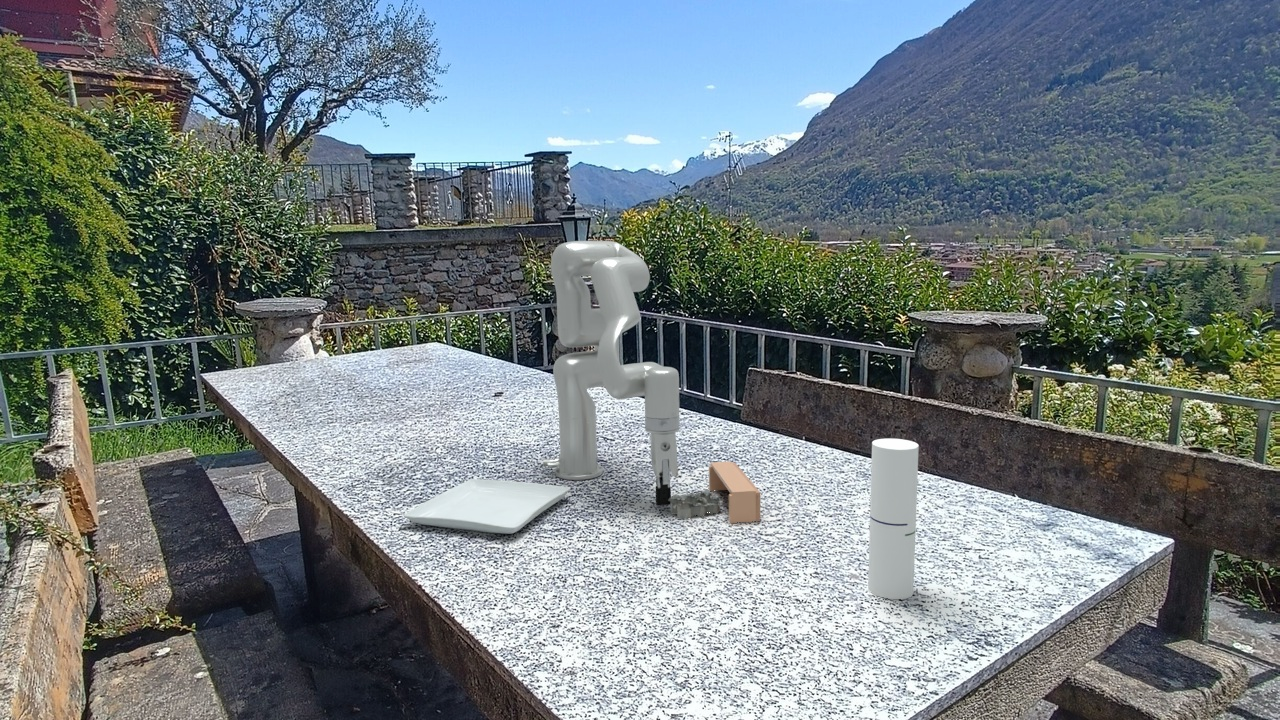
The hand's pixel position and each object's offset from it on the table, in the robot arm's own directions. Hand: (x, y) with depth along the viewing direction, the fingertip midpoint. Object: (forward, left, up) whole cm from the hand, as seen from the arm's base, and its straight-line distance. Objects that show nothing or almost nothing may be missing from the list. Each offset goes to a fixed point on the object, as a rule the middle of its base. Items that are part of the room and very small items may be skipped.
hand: (663, 503), depth 164 cm
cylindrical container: (+32, -45, -1) cm, 55 cm away
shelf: (+15, 0, -1) cm, 15 cm away
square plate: (-38, +3, -2) cm, 38 cm away
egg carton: (+7, -3, -2) cm, 7 cm away
